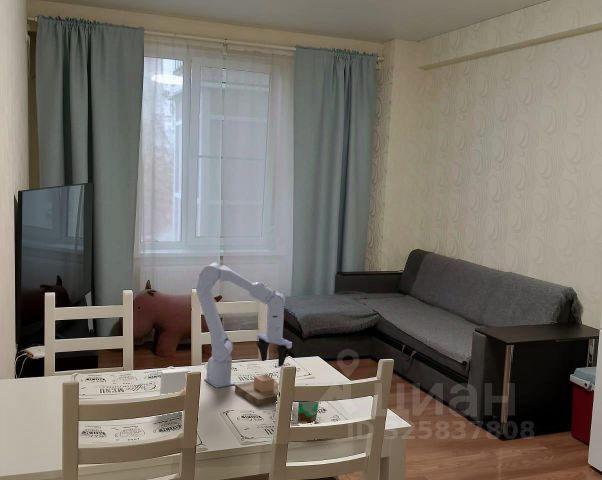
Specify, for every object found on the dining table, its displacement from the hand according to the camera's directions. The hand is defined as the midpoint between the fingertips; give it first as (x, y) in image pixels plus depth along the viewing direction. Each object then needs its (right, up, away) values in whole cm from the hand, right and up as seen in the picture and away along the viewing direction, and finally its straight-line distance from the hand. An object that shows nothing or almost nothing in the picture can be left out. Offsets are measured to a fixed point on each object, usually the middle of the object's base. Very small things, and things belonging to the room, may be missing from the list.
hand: (272, 362), depth 220 cm
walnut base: (-3, -10, -6) cm, 12 cm away
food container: (+13, -14, -26) cm, 32 cm away
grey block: (-31, -10, -22) cm, 39 cm away
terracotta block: (-3, -8, -7) cm, 11 cm away
